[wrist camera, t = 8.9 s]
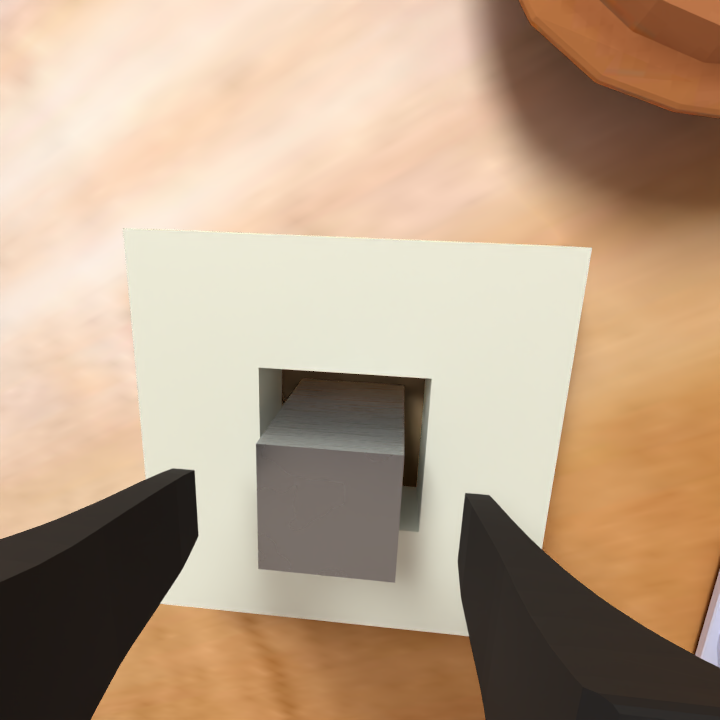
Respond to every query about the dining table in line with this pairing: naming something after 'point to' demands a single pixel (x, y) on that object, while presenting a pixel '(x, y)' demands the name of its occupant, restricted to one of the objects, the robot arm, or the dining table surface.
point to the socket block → (356, 356)
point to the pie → (640, 47)
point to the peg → (332, 481)
